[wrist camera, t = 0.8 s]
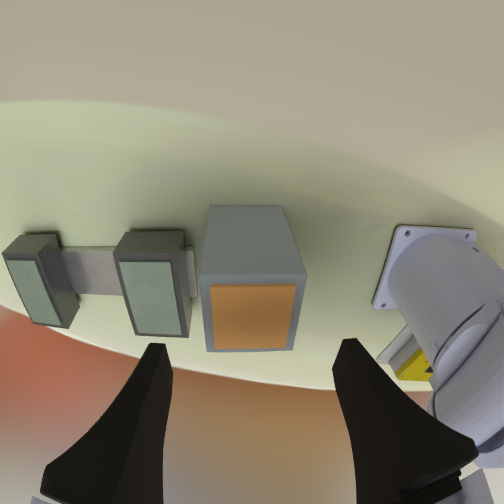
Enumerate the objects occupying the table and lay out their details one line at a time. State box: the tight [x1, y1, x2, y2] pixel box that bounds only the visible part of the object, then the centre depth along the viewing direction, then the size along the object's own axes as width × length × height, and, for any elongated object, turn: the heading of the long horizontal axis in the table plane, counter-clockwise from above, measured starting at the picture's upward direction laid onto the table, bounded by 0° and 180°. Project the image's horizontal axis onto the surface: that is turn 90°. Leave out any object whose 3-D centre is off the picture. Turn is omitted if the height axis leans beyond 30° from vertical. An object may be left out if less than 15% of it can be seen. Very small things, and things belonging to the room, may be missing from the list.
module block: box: [199, 205, 307, 352], centre depth 17 cm, size 4×5×8 cm
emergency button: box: [376, 324, 433, 382], centre depth 27 cm, size 9×4×15 cm
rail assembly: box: [2, 231, 198, 338], centre depth 19 cm, size 15×7×4 cm, turn 88°
